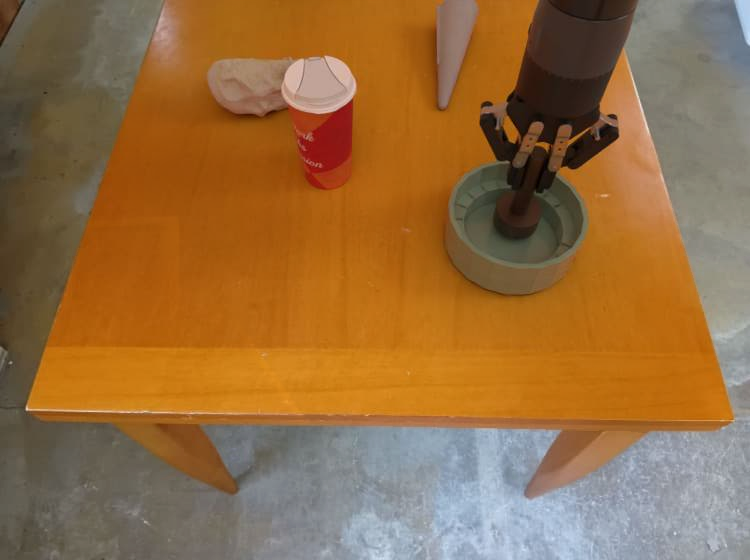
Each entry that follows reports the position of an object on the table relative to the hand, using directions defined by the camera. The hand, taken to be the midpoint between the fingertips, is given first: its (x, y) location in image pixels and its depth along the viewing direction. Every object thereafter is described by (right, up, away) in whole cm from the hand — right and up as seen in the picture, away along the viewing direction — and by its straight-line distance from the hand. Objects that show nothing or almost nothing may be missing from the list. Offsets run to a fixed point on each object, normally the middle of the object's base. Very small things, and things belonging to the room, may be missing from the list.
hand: (527, 185), depth 62 cm
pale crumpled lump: (-30, +15, +20) cm, 40 cm away
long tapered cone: (-4, +21, +23) cm, 32 cm away
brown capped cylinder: (0, -3, +5) cm, 6 cm away
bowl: (-1, -6, +6) cm, 9 cm away
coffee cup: (-23, +4, +12) cm, 26 cm away
